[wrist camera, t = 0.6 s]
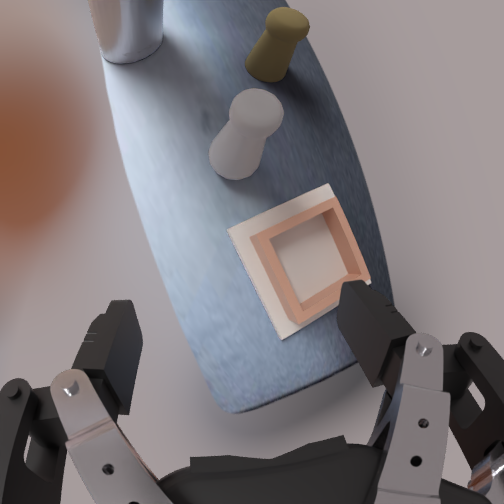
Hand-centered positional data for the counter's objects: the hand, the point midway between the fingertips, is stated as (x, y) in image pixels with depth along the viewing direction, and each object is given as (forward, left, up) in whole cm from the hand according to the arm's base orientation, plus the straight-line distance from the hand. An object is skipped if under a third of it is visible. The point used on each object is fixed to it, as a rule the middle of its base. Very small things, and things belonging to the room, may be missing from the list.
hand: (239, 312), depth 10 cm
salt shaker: (-11, +9, -21) cm, 25 cm away
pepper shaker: (-23, +20, -21) cm, 37 cm away
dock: (+3, +12, -21) cm, 24 cm away
